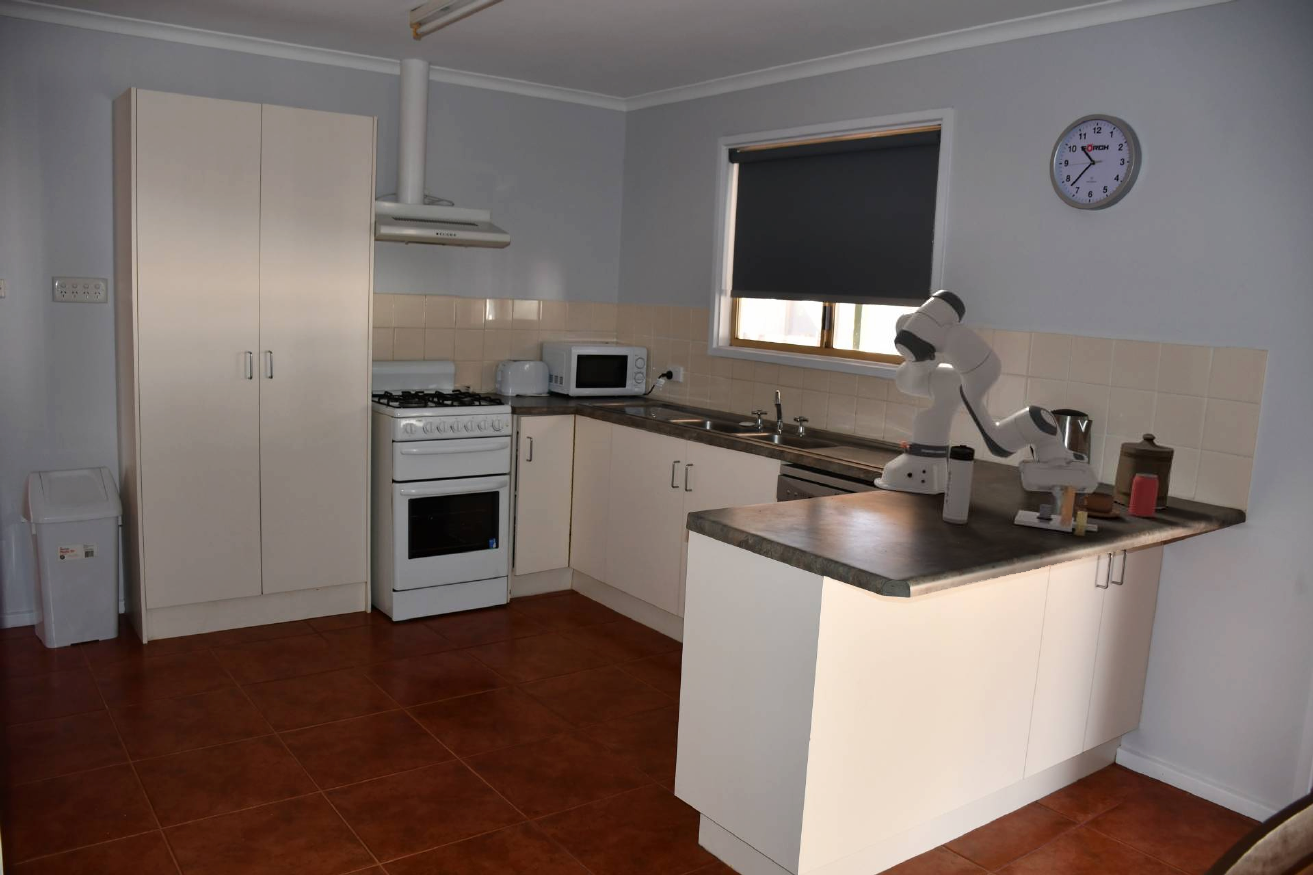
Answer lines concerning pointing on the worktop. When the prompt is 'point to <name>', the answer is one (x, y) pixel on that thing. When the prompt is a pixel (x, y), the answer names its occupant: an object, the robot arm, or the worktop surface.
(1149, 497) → the beer can
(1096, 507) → the cup and saucer
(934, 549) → the worktop surface
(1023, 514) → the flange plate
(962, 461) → the travel mug
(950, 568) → the worktop surface
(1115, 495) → the wooden container
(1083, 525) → the brass dowel
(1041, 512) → the grey rectangular block
